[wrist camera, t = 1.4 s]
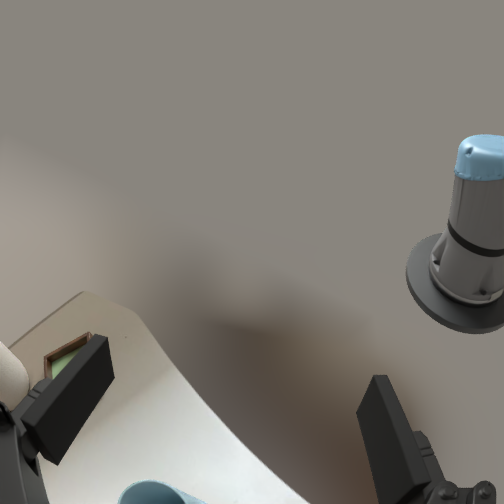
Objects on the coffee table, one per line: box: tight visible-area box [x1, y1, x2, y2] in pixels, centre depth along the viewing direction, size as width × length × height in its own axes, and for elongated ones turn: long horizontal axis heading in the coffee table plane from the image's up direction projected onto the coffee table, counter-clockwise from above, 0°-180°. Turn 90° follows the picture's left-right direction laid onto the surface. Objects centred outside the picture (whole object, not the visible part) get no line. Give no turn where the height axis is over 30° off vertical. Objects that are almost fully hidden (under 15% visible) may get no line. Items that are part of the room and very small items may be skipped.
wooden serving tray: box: [44, 332, 93, 379], centre depth 41 cm, size 12×12×2 cm
